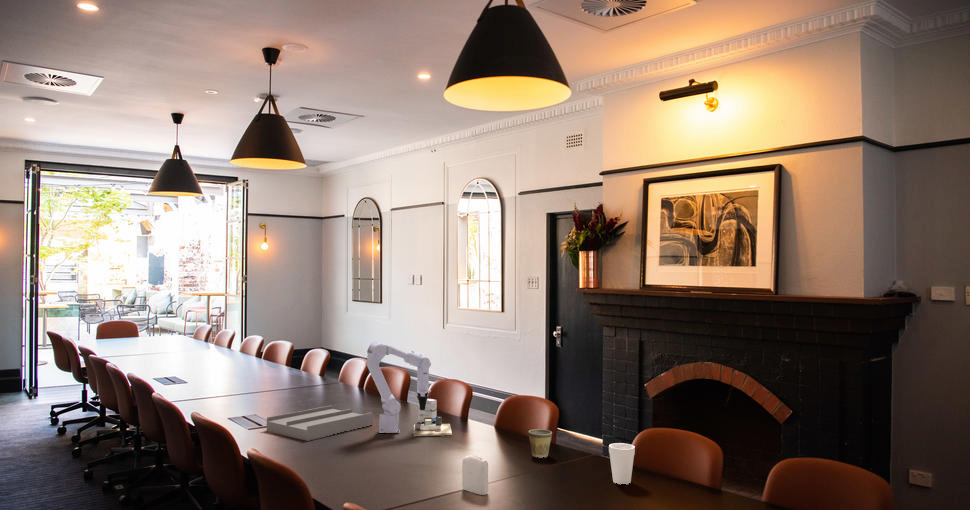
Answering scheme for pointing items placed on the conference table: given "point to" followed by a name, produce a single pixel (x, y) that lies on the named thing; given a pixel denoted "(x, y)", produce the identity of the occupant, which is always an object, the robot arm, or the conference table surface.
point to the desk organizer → (317, 422)
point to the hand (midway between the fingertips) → (422, 408)
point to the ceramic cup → (540, 442)
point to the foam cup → (621, 462)
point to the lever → (430, 427)
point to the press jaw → (427, 421)
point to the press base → (444, 430)
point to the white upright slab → (475, 474)
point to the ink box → (429, 410)
